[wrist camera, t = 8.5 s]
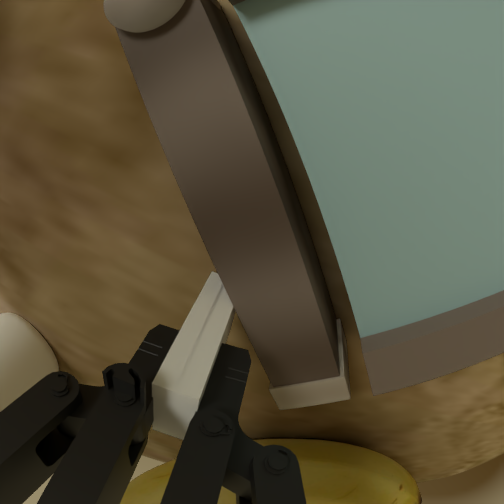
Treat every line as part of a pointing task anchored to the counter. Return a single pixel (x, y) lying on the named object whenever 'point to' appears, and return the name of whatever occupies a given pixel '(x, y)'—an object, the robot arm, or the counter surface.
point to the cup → (21, 357)
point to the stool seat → (401, 166)
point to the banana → (312, 476)
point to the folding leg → (237, 190)
